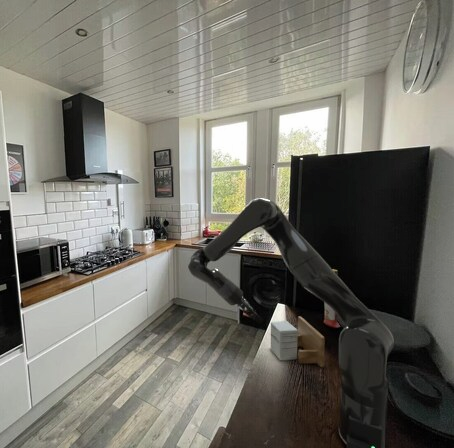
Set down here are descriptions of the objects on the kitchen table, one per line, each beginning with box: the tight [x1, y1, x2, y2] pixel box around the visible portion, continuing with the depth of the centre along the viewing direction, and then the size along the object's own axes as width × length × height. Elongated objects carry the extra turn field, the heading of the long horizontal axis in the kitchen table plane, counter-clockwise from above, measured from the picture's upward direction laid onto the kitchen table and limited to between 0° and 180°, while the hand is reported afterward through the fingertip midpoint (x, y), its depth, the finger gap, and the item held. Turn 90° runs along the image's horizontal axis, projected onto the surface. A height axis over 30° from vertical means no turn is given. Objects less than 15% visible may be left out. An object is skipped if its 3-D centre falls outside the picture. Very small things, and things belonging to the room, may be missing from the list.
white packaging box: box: [270, 320, 298, 361], centre depth 100 cm, size 7×7×13 cm
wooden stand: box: [297, 316, 326, 368], centre depth 100 cm, size 8×16×12 cm, turn 178°
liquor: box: [323, 268, 341, 329], centre depth 118 cm, size 7×7×28 cm
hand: (257, 317), depth 100 cm, fingers open, 6 cm apart
